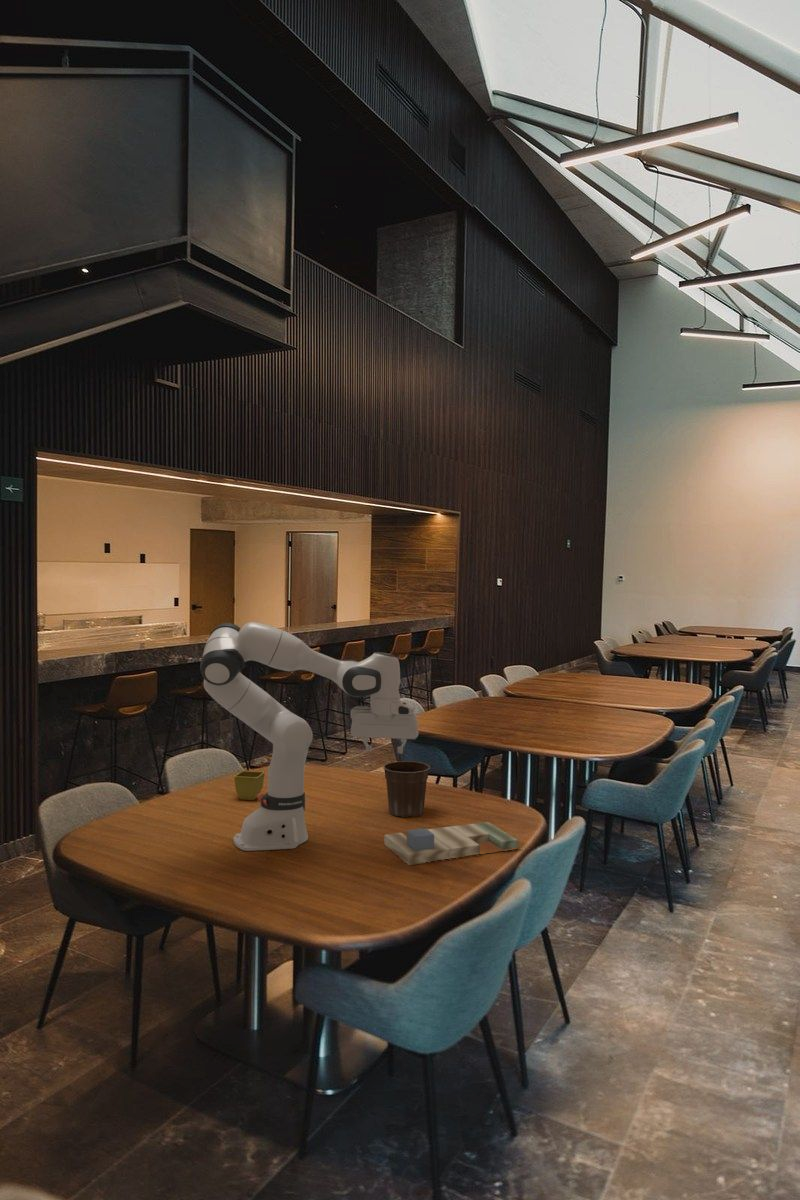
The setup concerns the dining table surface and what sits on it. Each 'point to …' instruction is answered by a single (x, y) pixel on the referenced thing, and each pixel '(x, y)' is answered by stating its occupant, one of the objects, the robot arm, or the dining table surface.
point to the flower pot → (249, 784)
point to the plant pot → (406, 787)
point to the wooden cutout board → (451, 842)
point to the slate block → (420, 839)
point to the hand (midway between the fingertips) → (384, 752)
